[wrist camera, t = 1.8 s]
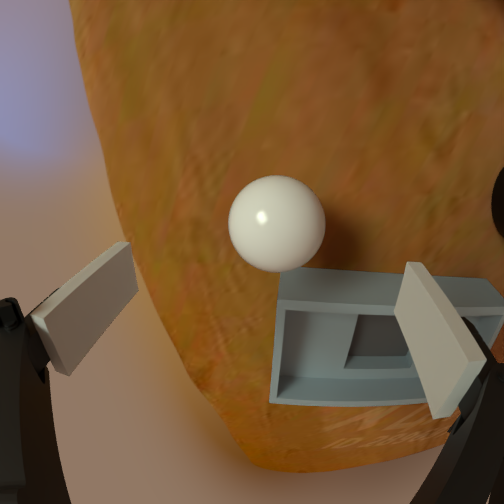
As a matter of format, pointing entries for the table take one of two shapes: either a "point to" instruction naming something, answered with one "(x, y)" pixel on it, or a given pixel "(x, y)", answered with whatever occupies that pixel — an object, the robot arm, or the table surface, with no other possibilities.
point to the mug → (498, 203)
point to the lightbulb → (276, 223)
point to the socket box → (359, 336)
